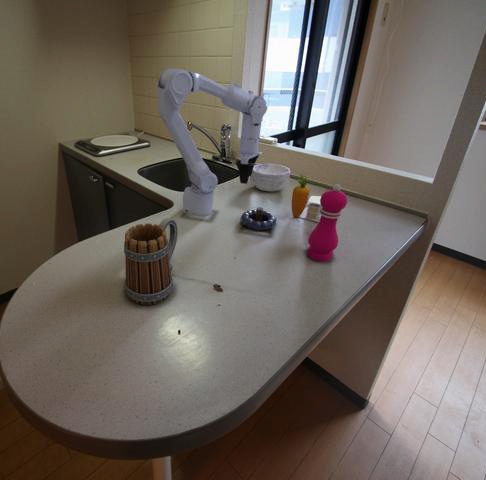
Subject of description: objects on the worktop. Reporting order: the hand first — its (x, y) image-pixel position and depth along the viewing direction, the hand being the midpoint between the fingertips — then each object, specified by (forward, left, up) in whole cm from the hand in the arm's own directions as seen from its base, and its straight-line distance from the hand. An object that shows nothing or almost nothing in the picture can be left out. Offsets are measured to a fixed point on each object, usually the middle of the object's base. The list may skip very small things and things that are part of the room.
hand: (245, 179), depth 105 cm
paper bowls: (+6, +23, -11) cm, 26 cm away
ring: (+7, -13, -8) cm, 16 cm away
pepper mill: (+25, -23, -11) cm, 36 cm away
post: (+7, -13, -10) cm, 18 cm away
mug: (-11, -49, -11) cm, 51 cm away
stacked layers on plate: (+24, +3, -11) cm, 26 cm away
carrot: (+18, -3, -11) cm, 21 cm away
